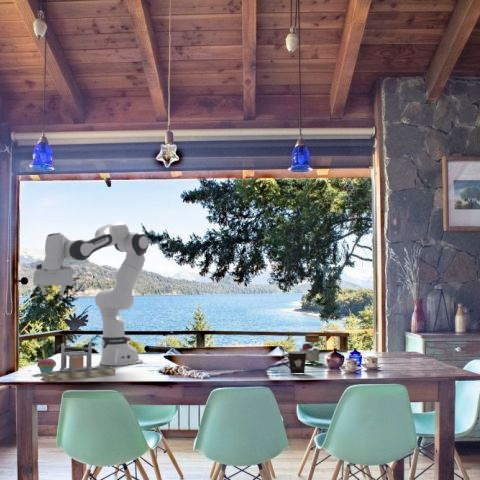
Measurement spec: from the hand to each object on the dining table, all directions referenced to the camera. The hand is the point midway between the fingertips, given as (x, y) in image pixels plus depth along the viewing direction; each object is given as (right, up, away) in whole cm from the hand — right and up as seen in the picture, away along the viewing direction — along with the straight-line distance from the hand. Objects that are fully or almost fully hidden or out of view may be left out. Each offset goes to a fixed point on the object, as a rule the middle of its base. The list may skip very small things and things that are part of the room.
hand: (52, 294), depth 288 cm
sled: (+15, -33, -12) cm, 38 cm away
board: (+16, -37, -11) cm, 42 cm away
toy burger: (+128, -39, +25) cm, 136 cm away
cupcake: (-2, -38, -3) cm, 38 cm away
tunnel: (+15, -34, -12) cm, 39 cm away
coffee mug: (+116, -37, -5) cm, 122 cm away
